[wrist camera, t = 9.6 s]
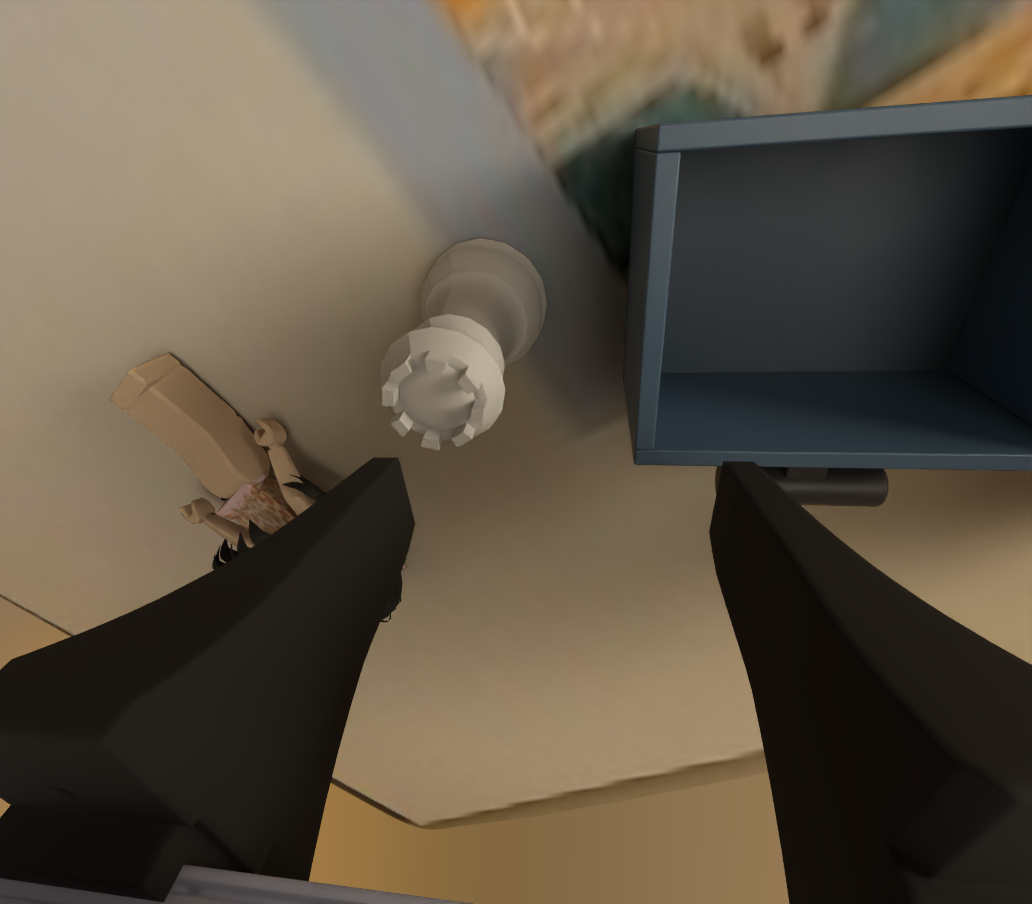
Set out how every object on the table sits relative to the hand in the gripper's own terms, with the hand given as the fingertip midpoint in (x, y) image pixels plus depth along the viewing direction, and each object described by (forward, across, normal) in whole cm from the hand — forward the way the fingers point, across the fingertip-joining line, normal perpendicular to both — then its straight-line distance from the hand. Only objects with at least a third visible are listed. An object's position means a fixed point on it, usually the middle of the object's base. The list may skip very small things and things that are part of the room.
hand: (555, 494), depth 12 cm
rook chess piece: (+10, +3, -2) cm, 10 cm away
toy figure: (+10, +14, +7) cm, 19 cm away
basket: (+9, -8, -1) cm, 12 cm away
